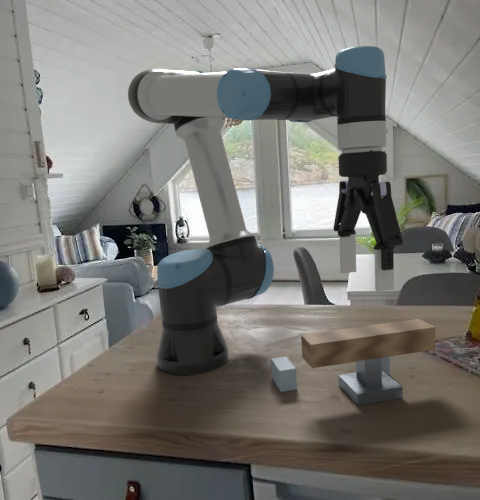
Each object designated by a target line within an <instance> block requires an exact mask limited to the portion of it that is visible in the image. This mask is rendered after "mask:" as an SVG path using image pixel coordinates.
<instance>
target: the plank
mask: <svg viewBox="0 0 480 500" xmlns="http://www.w3.org/2000/svg"><path fill="white" fill-rule="evenodd" d="M300 339H301V357H302V359H303V360H304V361H305V362H306V363H307V364H308V365H309V366H310V368H311V369H315V368H322V367H330V366H335V365H342V364H343V365H344V364H349V363H356V362H357V361H364V360H370V359H377V358H383V357H390V358H391V357H394V356H402V355H407V354H408V355H410V354H414V353H415V354H416V353H422V352H423V353H424V352H428V351H429V352H430V351H435V350H436V327H435V326H434V325H432V324H431V323H428V322H426V321H424V320H422V319H420V318H413V319H406V320H399V321H393V322H386V323H385V322H384V323H379V324H378V323H377V324H373V325H372V324H370V325H364V326H356V327H349V328H342V329H335V330H328V331H327V330H326V331H322V332H321V331H320V332H319V331H318V332H314V333H306V334H301V335H300Z"/></svg>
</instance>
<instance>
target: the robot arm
mask: <svg viewBox="0 0 480 500" xmlns="http://www.w3.org/2000/svg"><path fill="white" fill-rule="evenodd" d="M334 60H335V63H334V65H333V66H334V67H333V68H332V69H329V70H324V71H319V72H316V73H304V72H303V73H302V72H290V71H277V70H275V71H274V70H264V69H255V68H253V67H240V68H230V69H228V70H226V71H219V72H218V71H217V72H215V71H214V72H205V71H201V70H194V71H190V70H189V71H188V70H178V69H177V70H176V69H175V70H174V69H165V68H164V69H163V68H150V69H147V70H143V71H141V72H139V73H138V74H136V75H135V76H134V77H133V79H132V80H131V81H130V84H129V86H128V89H127V98H128V103H129V105H130V108H131V109H132V111H133V112H134V113H135V115H137V116H138V117H139V118H141V119H142V120H144V121H147V122H150V123H153V124H165V125H166V124H167V125H169V124H173V127H174V131H175V134H176V136H177V138H179V139H181V140H183V141H184V143H185V148H186V151H187V154H188V155H187V156H188V159H189V162H190V167H191V171H192V174H193V179H194V183H195V186H196V190H197V195H198V197H199V201H200V206H201V209H202V214H203V217H204V222H205V225H206V228H207V232H208V237H209V241H208V243H207V244H206V246H205V248H192V249H185V250H181V251H178V252H174V253H173V254H169V255H167V256H165V257H164V258H161V260H160V261H159V263H158V264H157V269H156V275H157V280H156V284H157V287H158V296H159V297H158V298H159V305H160V306H159V307H160V314H161V326H162V331H161V336H160V341H159V345H158V349H157V353H156V354H157V355H156V359H157V367H158V368H159V370H161V371H162V372H165V373H167V374H171V375H172V374H173V375H178V376H179V375H181V376H183V375H185V376H187V375H196V374H203V373H207V372H211V371H214V370H217V369H219V368H220V367H222V366H224V365H225V364H226V363H227V362H228V361H229V348H228V345H227V341H226V340H225V338H224V335H223V333H222V331H221V328H220V326H219V324H218V323H219V322H218V313H217V312H218V310H217V308H219V307H223V306H226V305H231V304H234V303H237V302H242V301H245V300H251V299H253V298H255V297H257V296H260V295H263V294H264V293H265V292H267V291H268V289H269V288H270V286H271V283H272V282H273V279H274V272H275V268H274V266H275V265H274V260H273V257H272V254H271V252H270V250H268V249H267V247H265V246H264V245H262V244H259V243H257V239H256V235H255V234H253V232H250V231H248V229H247V226H246V222H245V220H244V219H245V218H244V216H243V211H242V208H241V204H240V200H239V196H238V193H237V189H236V186H235V182H234V178H233V174H232V171H231V168H230V162H229V159H228V155H227V151H226V148H225V147H226V146H225V143H224V140H223V136H222V133H221V131H222V130H223V128H224V126H225V119H231V120H237V121H264V120H265V121H269V120H271V121H272V120H278V121H289V122H290V123H310V122H313V121H316V120H322V119H323V120H324V119H328V118H334V117H335V118H336V120H337V121H336V122H337V125H336V133H337V134H336V137H337V149H338V151H341V153H340V154H339V156H338V175H339V177H342V178H348V179H347V180H341V181H339V188H338V189H339V190H338V199H337V204H336V209H335V210H336V211H335V216H334V217H335V218H334V223H333V231H334V232H337V236H338V238H339V262H340V263H339V266H340V267H339V269H340V273H341V274H349V273H357V251H356V248H357V247H356V235H357V231H356V229H355V228H356V226H357V223H358V220H359V217H360V214H361V212H362V214H365V216H366V219H367V221H368V224H369V227H370V229H371V232H372V235H373V238H374V240H375V242H376V243H375V245H374V247H373V250H374V277H375V278H374V279H375V280H374V285H375V287H374V288H375V289H374V290H375V291H376V292H382V291H393V290H395V275H394V274H395V265H394V264H395V263H394V262H395V260H394V257H395V256H394V254H395V253H394V252H395V251H394V250H395V248H397V247H398V246H402V245H403V242H404V241H403V237H402V233H401V229H400V225H399V224H400V223H399V221H398V217H397V213H396V209H395V205H394V201H393V197H392V186H391V182H390V181H380V179H379V177H380V176H383V175H384V176H385V174H387V173H388V161H387V160H388V157H387V156H388V154H387V152H386V151H385V150H384V151H383V148H385V147H386V146H387V133H388V129H387V123H386V121H387V115H386V97H387V96H386V95H387V93H386V92H387V74H386V63H385V62H386V61H385V52H384V51H383V50H382V49H381V48H380V47H378V46H373V45H361V46H354V47H348V48H345V49H342V50H341V51H338V53H337V54H336V56H335V59H334Z"/></svg>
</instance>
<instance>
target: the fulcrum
mask: <svg viewBox="0 0 480 500" xmlns="http://www.w3.org/2000/svg"><path fill="white" fill-rule="evenodd" d="M355 367H356V368H355V369H356V371H355V372H349V373H344V374H338V387H339V388H340V389H341V390H342V391H344V393H345V394H346V395H347V396H348V397H349V398H350V399H351V400H352V401H353V402H354V403H355V405H356V406H358V407H359V406H363V405H369V404H370V405H371V404H376V403H382V402H387V401H394V400H400V399H403V397H404V395H403V394H404V393H403V386H402V385H401V384H400V383H398V381H396V380H394V379H393V378H392V377H391V376H390V375H387V374H386V373H385V372H383V371H382V363H381V358H377V359H370V360H364V361H357V362H355Z"/></svg>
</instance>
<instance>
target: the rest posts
mask: <svg viewBox="0 0 480 500" xmlns="http://www.w3.org/2000/svg"><path fill="white" fill-rule="evenodd" d="M390 358H391V356H390V357H383V358H381V363H382V371H383V372H385V373H386V374H387V375H388V376H390V374H391V369H390V366H391V365H390V364H391V363H390V361H391V360H390ZM270 363H271V365H270V366H271V379H272V381H273V382H274V384H275V385H276V387H277V388H278V390H279V391H280V393H285V392H290V391H296V390H297V391H298V380H297V368H296V366H295V365H294V364H293V363H292V362H291V360H290V359H289V358H288V357H287V356H280V357H273V358H270Z"/></svg>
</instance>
